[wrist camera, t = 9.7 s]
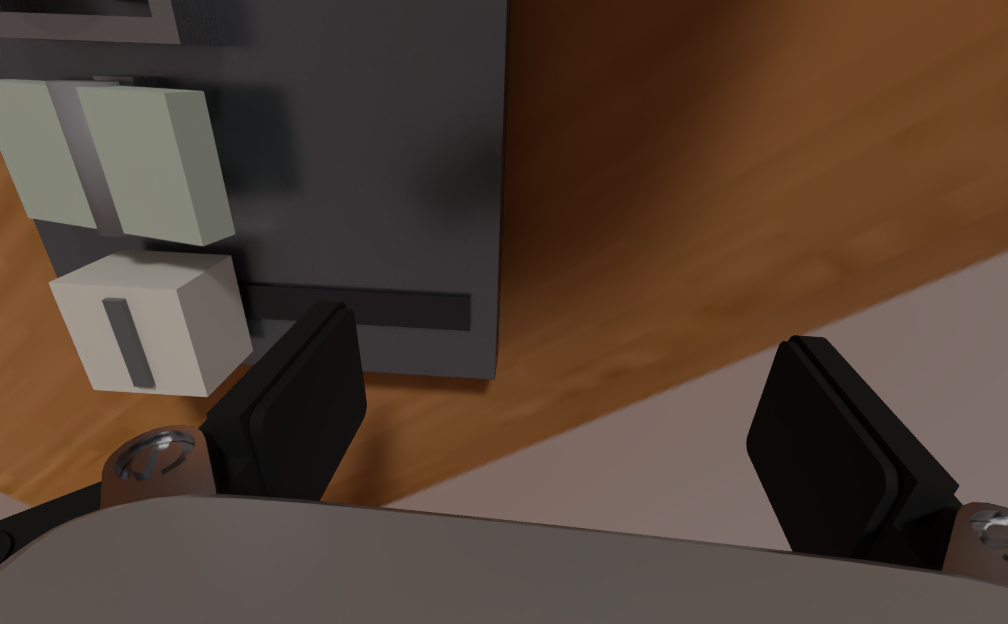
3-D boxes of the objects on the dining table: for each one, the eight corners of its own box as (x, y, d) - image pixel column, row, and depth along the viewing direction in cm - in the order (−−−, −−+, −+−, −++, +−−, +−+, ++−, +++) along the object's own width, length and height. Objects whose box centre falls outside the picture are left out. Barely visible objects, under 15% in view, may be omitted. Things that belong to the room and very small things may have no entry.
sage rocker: (209, 86, 13) (155, 88, 12) (241, 235, 15) (198, 251, 14) (25, 75, 15) (-40, 75, 14) (74, 209, 17) (22, 222, 16)
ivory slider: (231, 255, 17) (171, 292, 15) (253, 350, 19) (204, 400, 16) (122, 249, 18) (42, 285, 15) (154, 344, 19) (88, 393, 17)
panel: (528, -503, 11) (524, -767, 8) (498, 353, 22) (490, 410, 18) (-178, -502, 12) (-488, -748, 8) (124, 331, 22) (46, 382, 19)
